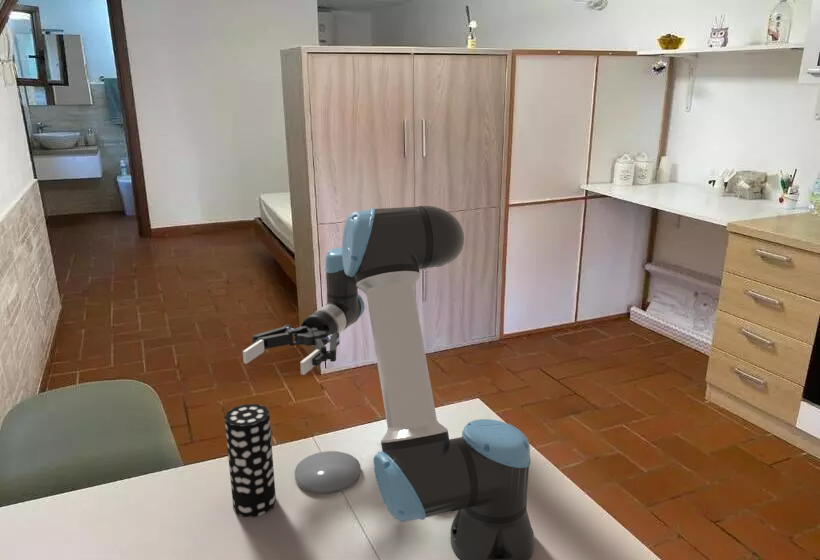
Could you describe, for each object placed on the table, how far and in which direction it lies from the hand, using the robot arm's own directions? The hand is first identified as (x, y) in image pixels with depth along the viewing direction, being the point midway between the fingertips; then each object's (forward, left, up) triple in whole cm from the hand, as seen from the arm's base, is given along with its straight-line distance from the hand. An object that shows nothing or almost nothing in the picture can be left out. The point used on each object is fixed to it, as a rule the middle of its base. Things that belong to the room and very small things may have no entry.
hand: (272, 362), depth 128 cm
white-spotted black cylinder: (-4, +9, -26) cm, 28 cm away
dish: (-8, -7, -26) cm, 28 cm away
